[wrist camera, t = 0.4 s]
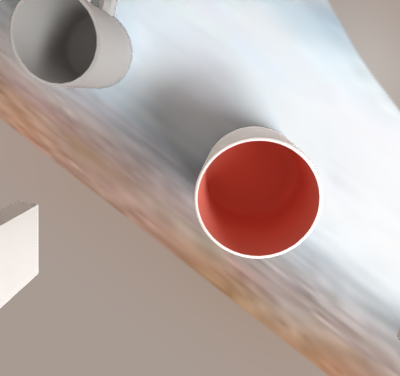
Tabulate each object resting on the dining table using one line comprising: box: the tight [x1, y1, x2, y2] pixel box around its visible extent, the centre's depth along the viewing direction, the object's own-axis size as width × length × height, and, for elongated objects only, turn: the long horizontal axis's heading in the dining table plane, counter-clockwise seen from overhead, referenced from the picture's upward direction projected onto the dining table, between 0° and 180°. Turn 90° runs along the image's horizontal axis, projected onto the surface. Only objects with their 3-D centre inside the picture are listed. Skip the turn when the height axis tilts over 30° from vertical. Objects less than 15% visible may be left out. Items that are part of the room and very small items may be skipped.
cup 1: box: [10, 0, 132, 89], centre depth 30 cm, size 7×10×9 cm
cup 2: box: [194, 126, 323, 258], centre depth 32 cm, size 10×10×10 cm
